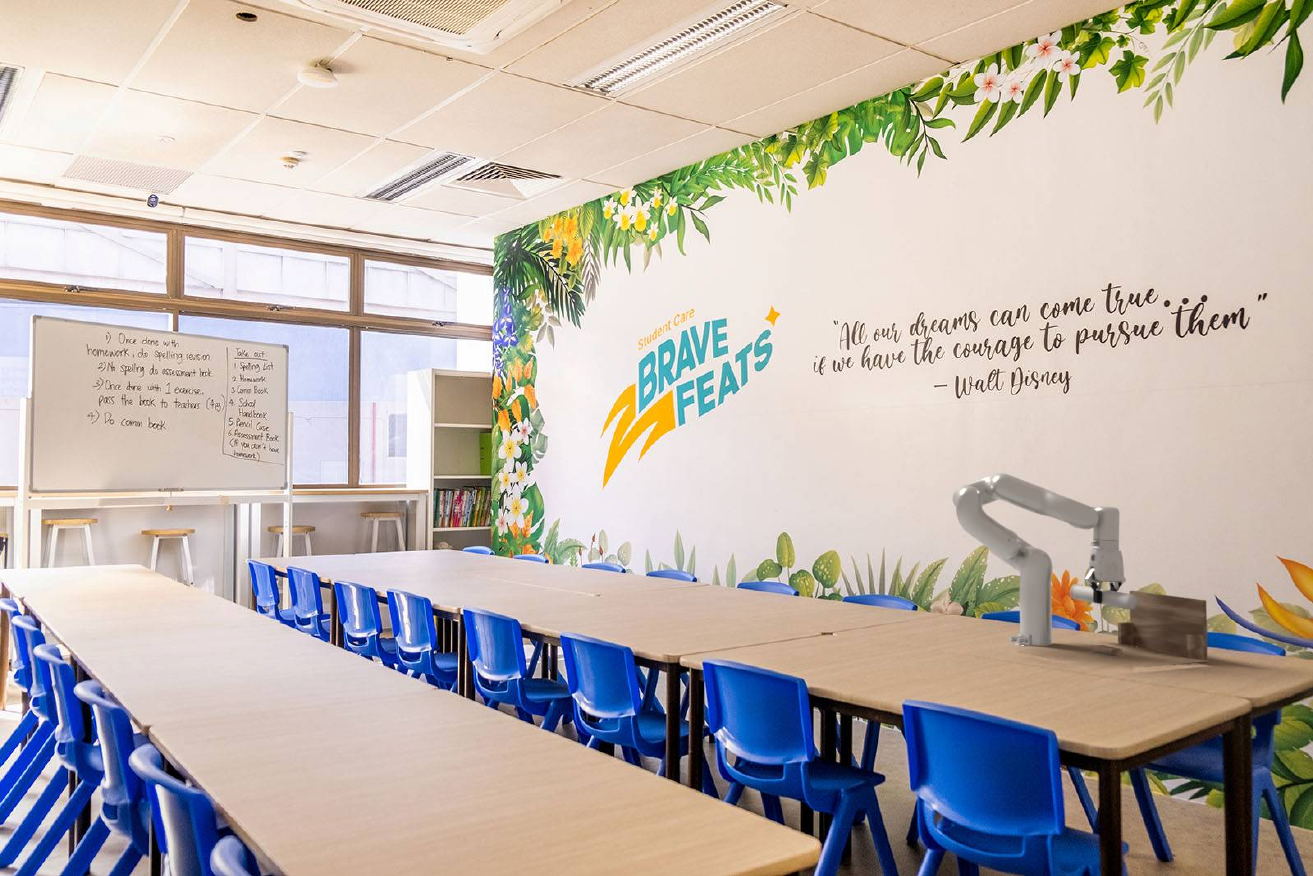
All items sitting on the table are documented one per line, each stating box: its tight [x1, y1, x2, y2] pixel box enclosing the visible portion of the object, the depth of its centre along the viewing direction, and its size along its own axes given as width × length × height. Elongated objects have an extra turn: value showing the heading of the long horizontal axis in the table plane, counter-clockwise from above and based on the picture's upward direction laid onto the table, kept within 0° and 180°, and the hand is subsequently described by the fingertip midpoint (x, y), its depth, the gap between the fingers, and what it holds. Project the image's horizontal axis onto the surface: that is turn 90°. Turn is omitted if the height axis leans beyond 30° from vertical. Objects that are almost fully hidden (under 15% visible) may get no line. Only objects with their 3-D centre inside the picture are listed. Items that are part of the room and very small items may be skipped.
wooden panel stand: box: [1117, 590, 1208, 661], centre depth 310 cm, size 6×28×18 cm, turn 19°
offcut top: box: [1091, 644, 1123, 657], centre depth 303 cm, size 4×8×2 cm, turn 17°
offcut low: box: [1089, 650, 1126, 658], centre depth 303 cm, size 5×10×2 cm, turn 18°
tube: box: [1069, 583, 1139, 611], centre depth 320 cm, size 5×5×25 cm
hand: (1105, 602), depth 320 cm, fingers closed on tube, 4 cm apart
